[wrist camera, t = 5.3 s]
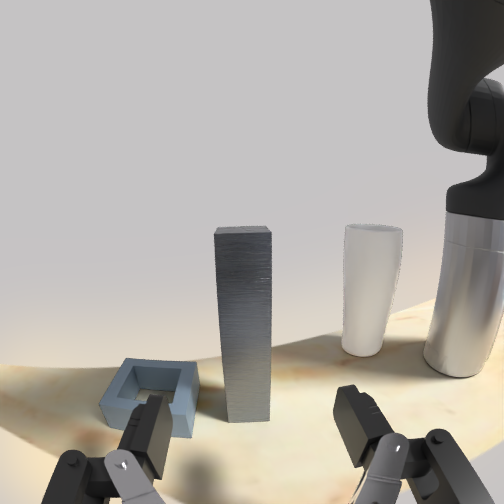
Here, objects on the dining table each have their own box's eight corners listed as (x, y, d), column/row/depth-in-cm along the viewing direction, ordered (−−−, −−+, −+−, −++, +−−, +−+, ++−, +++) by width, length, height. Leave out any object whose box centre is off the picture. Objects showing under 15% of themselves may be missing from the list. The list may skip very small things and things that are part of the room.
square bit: (265, 395, 23) (265, 225, 20) (269, 420, 20) (271, 232, 17) (229, 397, 23) (218, 227, 20) (228, 422, 20) (213, 233, 16)
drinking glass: (326, 339, 33) (334, 224, 30) (369, 331, 34) (380, 223, 31) (350, 367, 27) (366, 232, 24) (396, 354, 28) (415, 231, 25)
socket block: (199, 384, 25) (196, 361, 24) (191, 438, 18) (185, 415, 17) (132, 380, 25) (126, 357, 24) (109, 427, 17) (98, 404, 17)
